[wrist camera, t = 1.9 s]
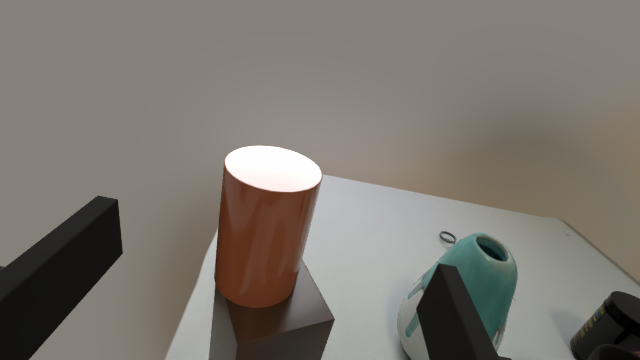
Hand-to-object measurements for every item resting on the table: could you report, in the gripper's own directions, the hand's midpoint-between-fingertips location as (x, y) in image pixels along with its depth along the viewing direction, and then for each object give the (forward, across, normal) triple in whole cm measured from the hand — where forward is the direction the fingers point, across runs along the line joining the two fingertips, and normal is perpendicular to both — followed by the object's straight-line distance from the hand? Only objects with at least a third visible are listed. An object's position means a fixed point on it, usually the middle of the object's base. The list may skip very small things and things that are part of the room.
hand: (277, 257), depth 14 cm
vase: (+18, +22, -27) cm, 39 cm away
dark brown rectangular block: (+10, 0, -26) cm, 28 cm away
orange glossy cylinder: (+11, -2, -12) cm, 17 cm away
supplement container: (+21, +47, -27) cm, 58 cm away
